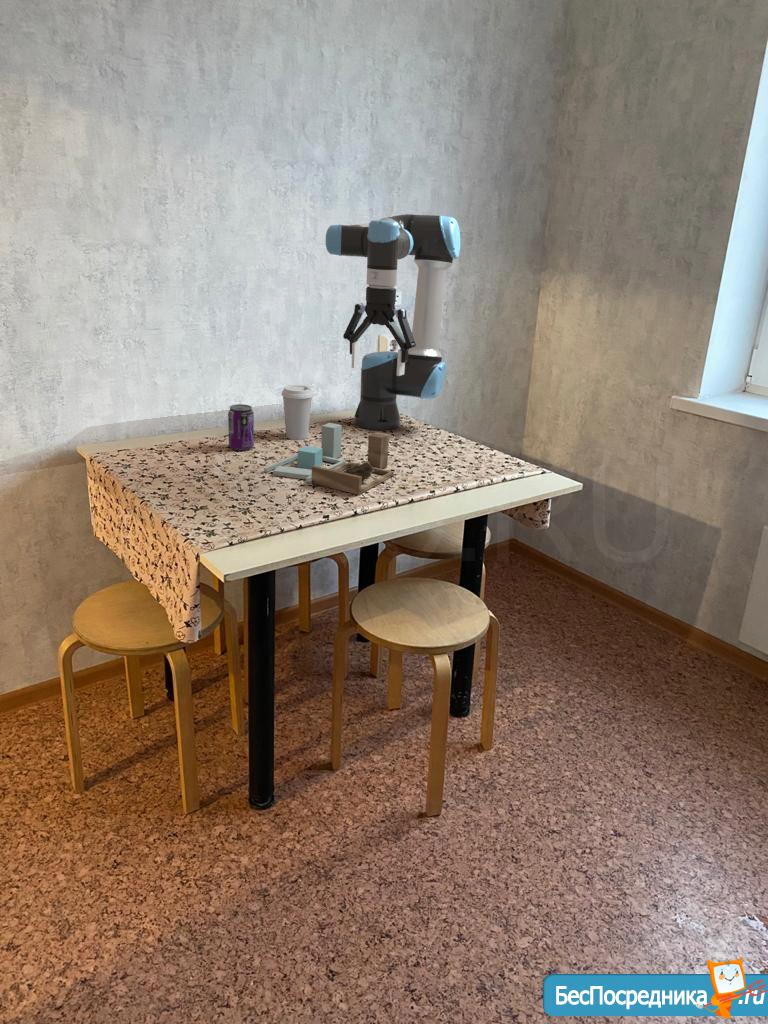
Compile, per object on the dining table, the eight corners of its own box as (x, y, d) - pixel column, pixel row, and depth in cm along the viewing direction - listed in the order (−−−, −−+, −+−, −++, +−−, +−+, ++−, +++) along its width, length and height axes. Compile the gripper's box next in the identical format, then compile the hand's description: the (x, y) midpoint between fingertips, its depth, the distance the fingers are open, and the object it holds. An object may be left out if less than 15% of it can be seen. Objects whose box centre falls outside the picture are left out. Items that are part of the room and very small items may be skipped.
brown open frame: (359, 460, 215) (360, 428, 212) (403, 469, 209) (405, 438, 206) (311, 483, 196) (312, 449, 193) (358, 494, 190) (360, 459, 187)
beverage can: (251, 452, 218) (251, 410, 213) (226, 450, 218) (225, 409, 213) (256, 444, 224) (255, 404, 220) (231, 443, 224) (230, 403, 220)
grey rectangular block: (279, 469, 205) (279, 465, 204) (315, 474, 203) (315, 470, 202) (273, 475, 201) (273, 470, 200) (309, 479, 199) (309, 475, 198)
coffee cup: (297, 443, 228) (298, 393, 222) (274, 436, 233) (274, 387, 228) (319, 436, 235) (320, 388, 229) (296, 430, 240) (296, 382, 235)
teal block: (305, 463, 212) (305, 445, 210) (322, 465, 210) (322, 448, 208) (297, 468, 207) (297, 450, 205) (314, 471, 206) (314, 453, 204)
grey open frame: (314, 450, 222) (314, 419, 218) (356, 459, 216) (357, 428, 212) (264, 471, 203) (263, 438, 199) (308, 482, 196) (308, 448, 193)
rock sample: (357, 458, 205) (360, 445, 197) (374, 480, 204) (377, 468, 195) (325, 478, 202) (326, 465, 194) (341, 501, 201) (343, 489, 193)
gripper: (331, 282, 195) (329, 366, 203) (418, 292, 184) (412, 380, 192) (347, 280, 201) (345, 362, 209) (432, 290, 190) (426, 375, 198)
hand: (377, 371), depth 200 cm, fingers open, 13 cm apart
